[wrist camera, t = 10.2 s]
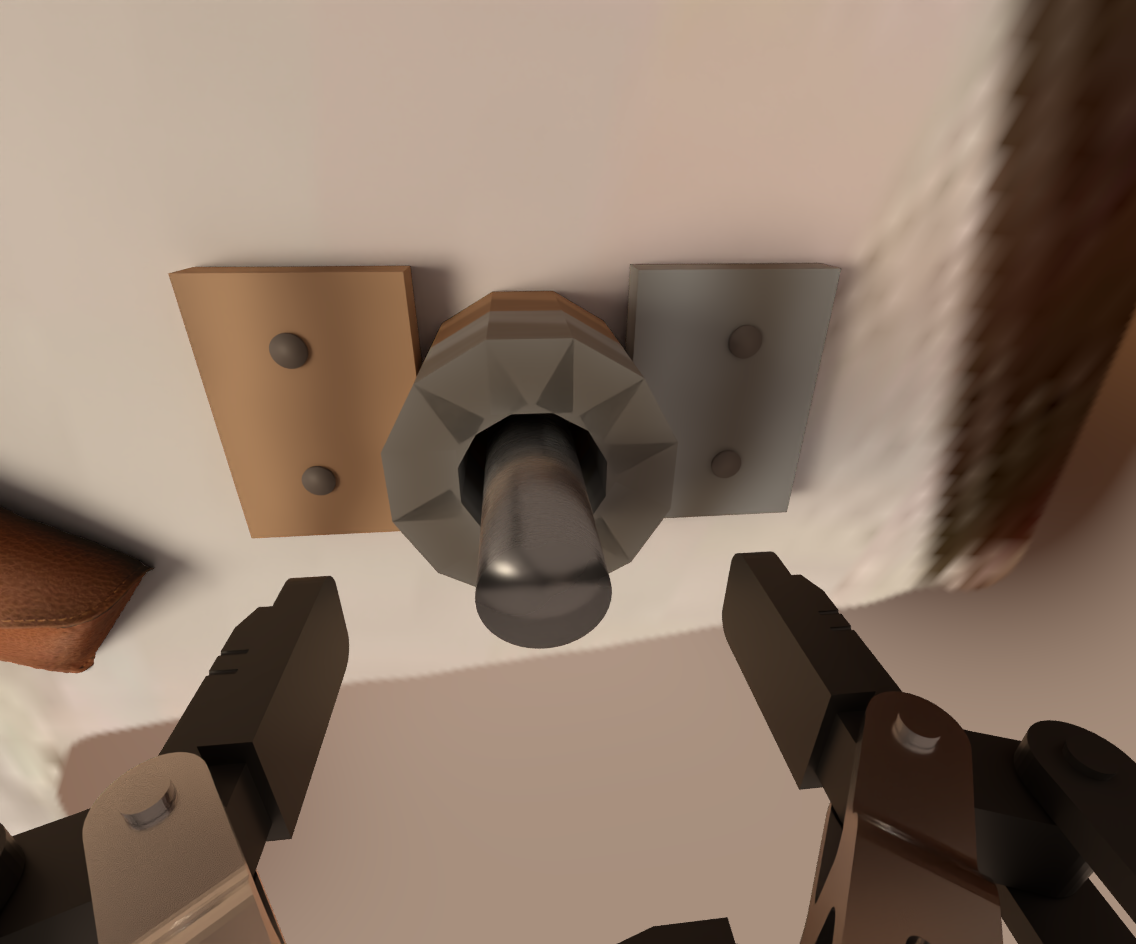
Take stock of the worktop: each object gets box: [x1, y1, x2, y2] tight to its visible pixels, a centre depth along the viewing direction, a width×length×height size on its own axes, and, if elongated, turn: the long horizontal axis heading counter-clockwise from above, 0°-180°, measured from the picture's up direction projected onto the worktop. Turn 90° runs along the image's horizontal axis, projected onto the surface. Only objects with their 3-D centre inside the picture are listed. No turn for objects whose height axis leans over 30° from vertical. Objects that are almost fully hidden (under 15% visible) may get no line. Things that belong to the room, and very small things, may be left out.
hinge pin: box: [475, 413, 612, 648], centre depth 17 cm, size 3×3×12 cm
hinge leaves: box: [169, 263, 841, 587], centre depth 19 cm, size 22×10×7 cm, turn 90°
